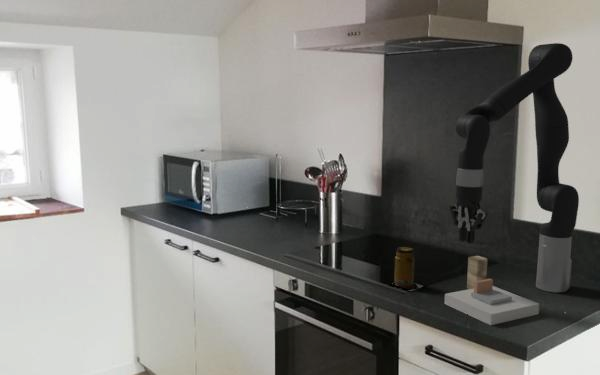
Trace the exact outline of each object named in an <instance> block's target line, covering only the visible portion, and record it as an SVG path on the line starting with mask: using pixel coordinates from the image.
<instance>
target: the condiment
mask: <svg viewBox="0 0 600 375" xmlns="http://www.w3.org/2000/svg"><path fill="white" fill-rule="evenodd" d="M414 253H415V250H414V248H411V247H407V246H400V247H397V248H396V256H395V257H394V277H393V278H394V282H393V283H395V285H396V286H400V287H412V286H413V283H414V282H415V281H414V280H415V254H414ZM414 284H416V285H417V287H418V288H419V289H421V288H422V287H424V285H421V284H417V283H414ZM418 288H417V289H412V290H408V291H410V292H412V291H416V290H419V289H418Z"/></svg>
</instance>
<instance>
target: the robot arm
mask: <svg viewBox="0 0 600 375" xmlns="http://www.w3.org/2000/svg"><path fill="white" fill-rule="evenodd" d="M527 62H528V63H527V66H528V71H526V72H525V73H523V74H521V75H520V76H517V77H516V78H514V79H511V80H510V81H508V82H506V83H505V84H504V85H502V86H500V87H499V88H498V89H496V90H495V91H494V92H493V93H491V94H490V95H489V96H488V97H487V98H485V100H484V101H482V102H481V103H479V104H477V105H475V106H474V107H471V108H470V109H468V110H467V111H465V112H464V113H463V114H462V115H461V116H460V117H459V118H458V120H457V121H456V122H455V127H454V128H455V132H456V135H458V136H459V137H460V138H462V139H466V143H465V146H464V147H462V148H461V149H459V151H458V156H457V171H456V179H455V200H457V201H456V203H455V204H454V205H450V206H449V211H450V214H451V218H452V221H453V224H454V226H457V228H458V240H459V242H466V243H467V244H473V243H474V241H475V239H476V238H475V236H476V231H477V230H481V229H482V227H483V225H484V223H485V221H486V218H487V217H488V213H487V211H486V212H484V211H483V210H482V209H481V204H480V203H481V201H483V189H484V186H483V185H484V157H485V156H484V154H485V151H486V150H487V145H488V141H489V138H490V135H491V125H490V123H492V122H493V123H494V122H497V121H499V120H501V119H503V118H504V117H505V116H506V115H507V114H508V113H510V112H511V111H512V110H513V109H515V107H516V106H518V105H519V104H520V103H521V102H523V101H524V100H525V99H526V98H528V96H530V95H532V98H533V109H534V127H535V130H534V131H535V139H536V157H537V158H536V160H537V176H536V177H537V178H536V201H537V204H538V206H539V207H540V208H541V209H542V210H544V211H546V212H549V213H551V218H550V220H549V222H545V223H544V222H543V223H541V225H540V226H539V227H540V228H539V240H538V250H537V251H538V254H537V265H536V276H535V277H536V279H535V287H536V288H537V289H539V290H541V291H544V292H548V293H565V292H567V291H568V289H570V287H571V286H570V285H571V274H572V273H571V272H572V265H573V264H572V262H573V260H572V258H571V254H572V253H571V251H572V250H571V249H572V242H573V241H572V238H573V232H574V230H575V227H576V225H577V219H578V218H577V217H578V213H579V212H578V210H579V204H580V201H579V200H580V198H579V197H580V196H579V192H578V190H577V189H576V188H575V187H574V186H573V185H570V184H564V183H561V182H560V176H559V173H560V172H559V170H560V169H559V167H560V162H561V159H562V158H563V156H564V153H565V151H566V150H567V148H568V145H569V140H570V132H569V130H570V129H569V118H568V115H567V113H566V110H565V108H564V106H563V105H562V103H561V101H560V98H559V97H558V95H557V92H556V88H555V79H556V78H558V77H559V76H561V75H563V74H564V73H566V72H567V71H568V70H569V68H570V67H571V65H572V62H573V52H572V49H571V48H570V47H569V46H568V45H566V44H565V43H559V42H558V43H557V42H554V43H544V44H539V45H535V46H534V47H533V48H532V49H531V51H530V52H529V55H528V61H527Z"/></svg>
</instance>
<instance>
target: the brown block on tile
mask: <svg viewBox="0 0 600 375" xmlns="http://www.w3.org/2000/svg"><path fill="white" fill-rule="evenodd" d="M493 282H494V280H493V279H492V278H486V279H485V280H479V281H474V292H472V293H471V296H472V297H474V298H477V299H479V300H481V301H484V302H486V303H488V304H495V303H500V302H505V301H510V300H512V296H509V295H507V294H504V293H501V292H499V291H496V290H494V289H492V287H493V286H494V285H493V284H494V283H493Z"/></svg>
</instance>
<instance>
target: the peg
mask: <svg viewBox="0 0 600 375" xmlns="http://www.w3.org/2000/svg"><path fill="white" fill-rule="evenodd" d="M487 270H488V258H486V257H484V256H480V255H473V256H468V258H467V273H466V274H467V276H466V278H467V279H466V289H467V290H468V289H473V288H474V281H479V280H485V279H487V272H488V271H487Z"/></svg>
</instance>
